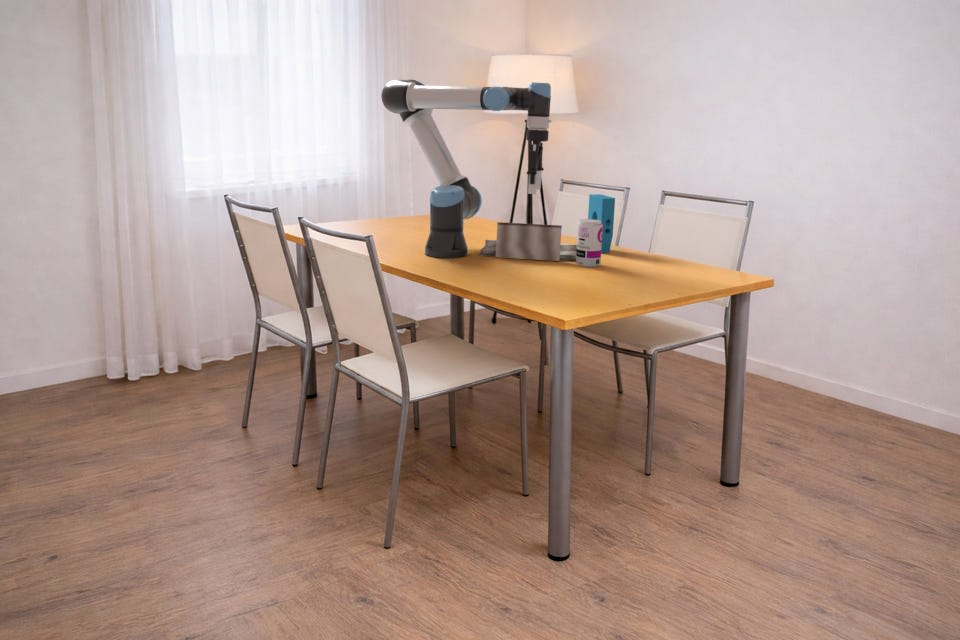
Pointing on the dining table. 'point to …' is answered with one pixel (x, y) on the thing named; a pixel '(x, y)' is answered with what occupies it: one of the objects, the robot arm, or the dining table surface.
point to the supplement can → (589, 243)
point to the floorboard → (565, 250)
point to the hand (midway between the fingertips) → (534, 191)
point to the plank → (528, 241)
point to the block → (603, 217)
